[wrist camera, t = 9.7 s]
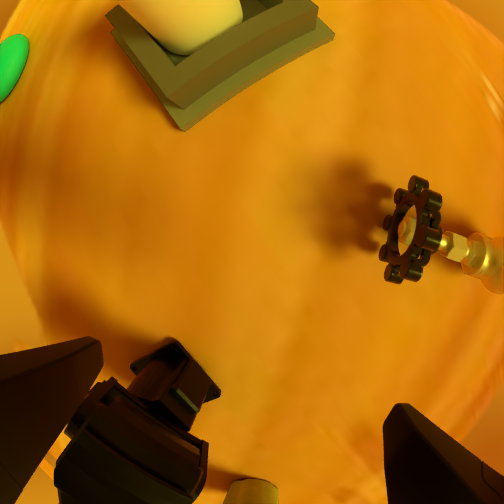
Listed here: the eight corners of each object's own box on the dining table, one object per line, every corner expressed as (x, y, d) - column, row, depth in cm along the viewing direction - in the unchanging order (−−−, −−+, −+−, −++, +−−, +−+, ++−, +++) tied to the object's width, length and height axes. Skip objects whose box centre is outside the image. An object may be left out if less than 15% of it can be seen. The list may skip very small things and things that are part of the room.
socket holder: (185, 131, 18) (161, 119, 14) (116, 36, 17) (91, 19, 13) (333, 39, 15) (341, 11, 11) (235, -40, 14) (227, -66, 10)
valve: (502, 224, 16) (393, 176, 17) (552, 238, 10) (440, 172, 11) (480, 296, 18) (370, 266, 19) (524, 327, 11) (404, 301, 12)
